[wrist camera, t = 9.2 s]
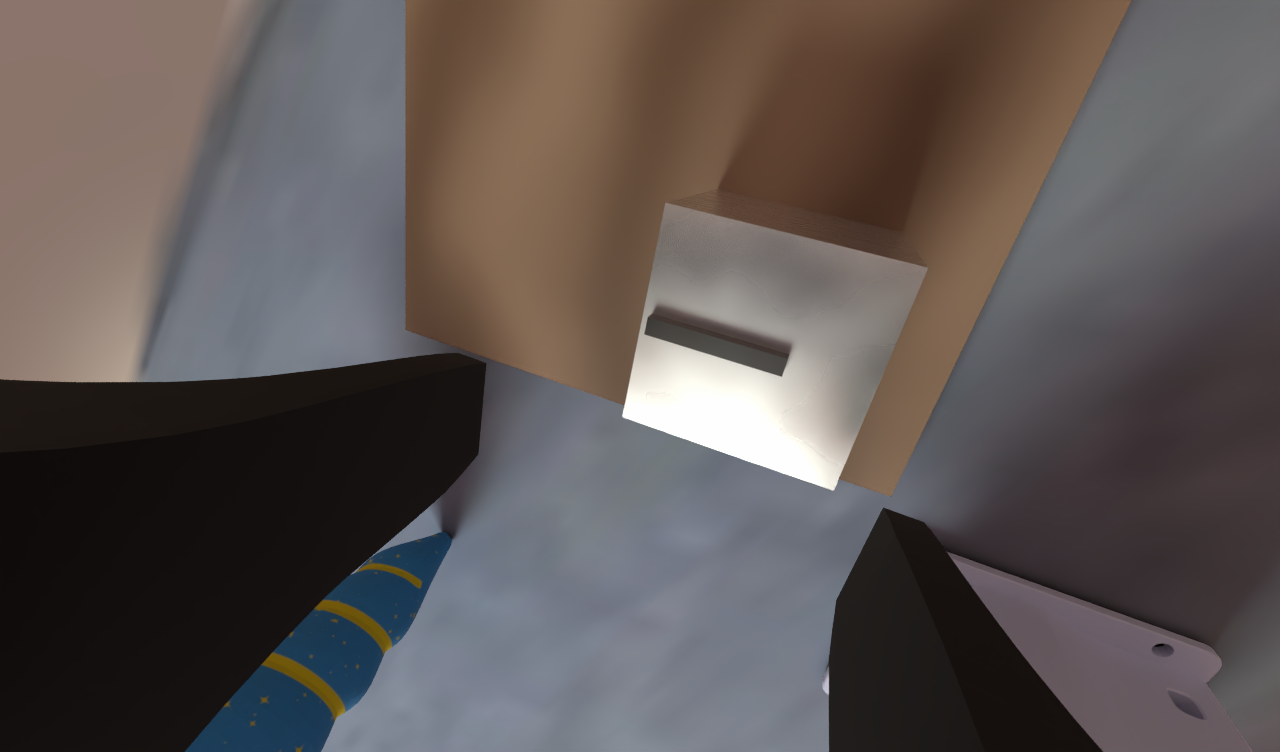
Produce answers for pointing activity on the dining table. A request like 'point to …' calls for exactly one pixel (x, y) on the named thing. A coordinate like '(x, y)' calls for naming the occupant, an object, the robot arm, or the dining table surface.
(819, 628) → the dining table surface
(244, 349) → the dining table surface
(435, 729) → the dining table surface
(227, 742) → the ornament
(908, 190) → the board
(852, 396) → the beige cube
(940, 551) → the robot arm
